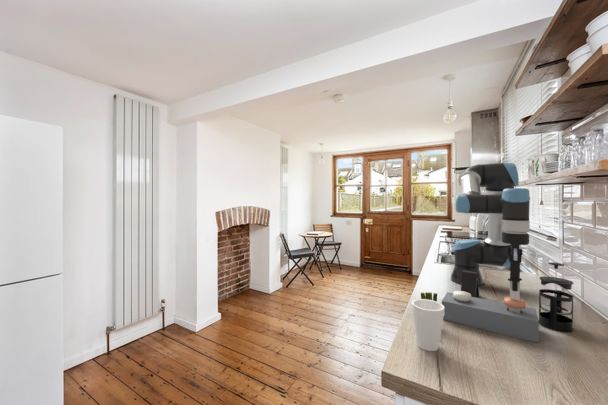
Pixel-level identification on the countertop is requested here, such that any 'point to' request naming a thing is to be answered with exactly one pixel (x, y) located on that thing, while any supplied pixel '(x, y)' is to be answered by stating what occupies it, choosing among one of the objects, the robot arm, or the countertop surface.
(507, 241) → the robot arm
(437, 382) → the countertop surface
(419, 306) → the foam cup
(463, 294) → the white rounded knob
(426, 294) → the fennel bulb
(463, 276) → the phone stand
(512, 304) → the orange ball knob
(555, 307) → the french press
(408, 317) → the countertop surface
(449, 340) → the countertop surface
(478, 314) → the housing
